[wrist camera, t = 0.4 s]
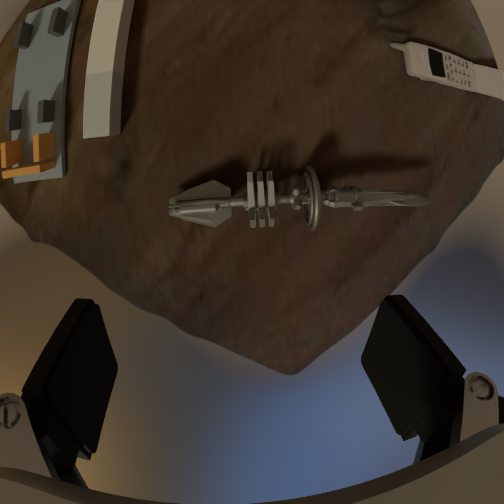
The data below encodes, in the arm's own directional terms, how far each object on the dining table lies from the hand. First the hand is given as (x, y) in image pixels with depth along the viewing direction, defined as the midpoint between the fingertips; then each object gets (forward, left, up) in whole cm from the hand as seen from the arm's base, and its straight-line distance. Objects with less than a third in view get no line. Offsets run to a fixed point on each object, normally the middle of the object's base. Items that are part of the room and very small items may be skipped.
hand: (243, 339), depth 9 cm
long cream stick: (-17, -16, -29) cm, 37 cm away
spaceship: (+1, +10, -30) cm, 31 cm away
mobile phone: (-23, +34, -30) cm, 51 cm away
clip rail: (-15, -28, -29) cm, 43 cm away
